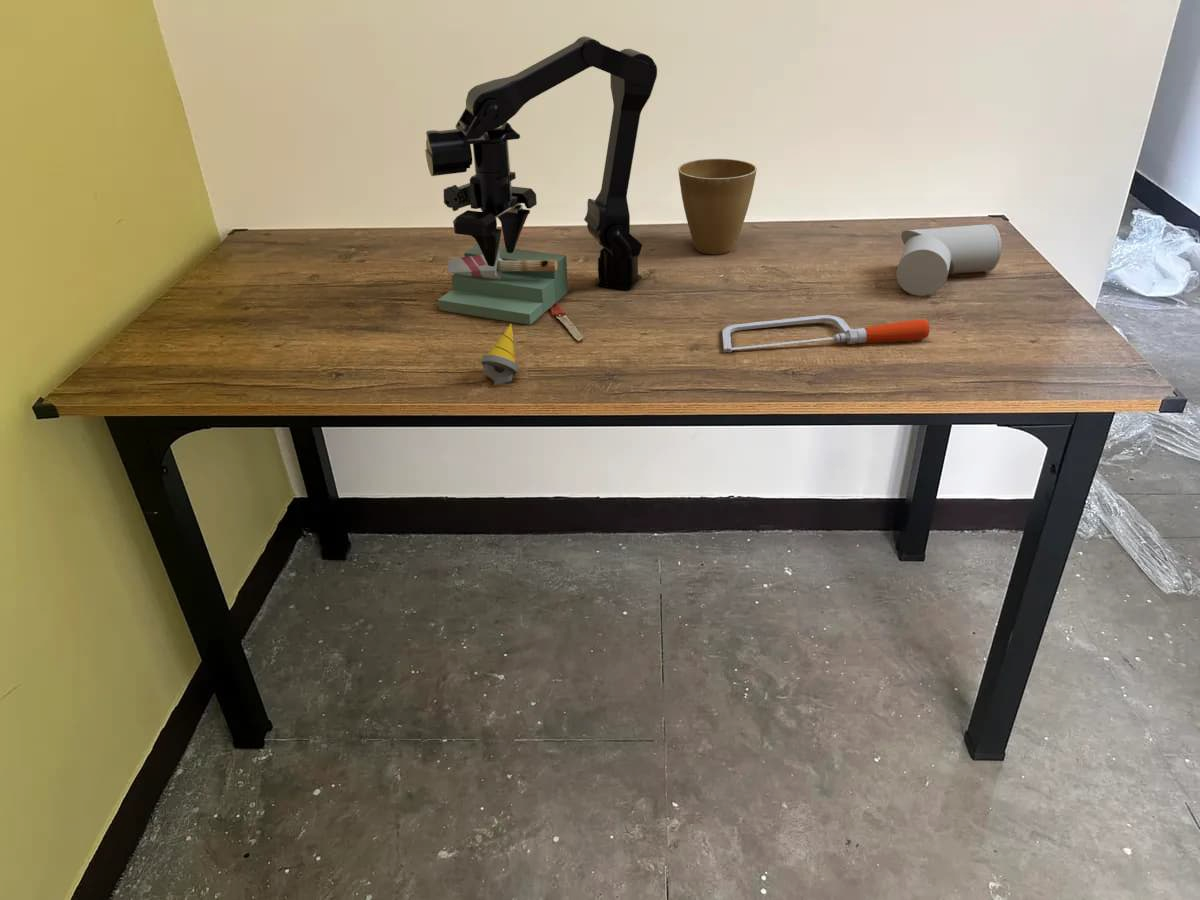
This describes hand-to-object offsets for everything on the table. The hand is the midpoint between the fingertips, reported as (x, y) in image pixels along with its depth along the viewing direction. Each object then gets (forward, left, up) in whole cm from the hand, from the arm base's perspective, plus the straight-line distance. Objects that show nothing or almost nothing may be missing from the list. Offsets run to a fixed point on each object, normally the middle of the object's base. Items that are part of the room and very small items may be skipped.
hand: (500, 259), depth 154 cm
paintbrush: (0, -1, -2) cm, 2 cm away
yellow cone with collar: (-13, +25, -8) cm, 29 cm away
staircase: (0, 0, -8) cm, 8 cm away
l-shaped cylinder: (-71, -37, -8) cm, 80 cm away
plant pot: (-27, -38, -8) cm, 47 cm away
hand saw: (-55, -5, -8) cm, 56 cm away
